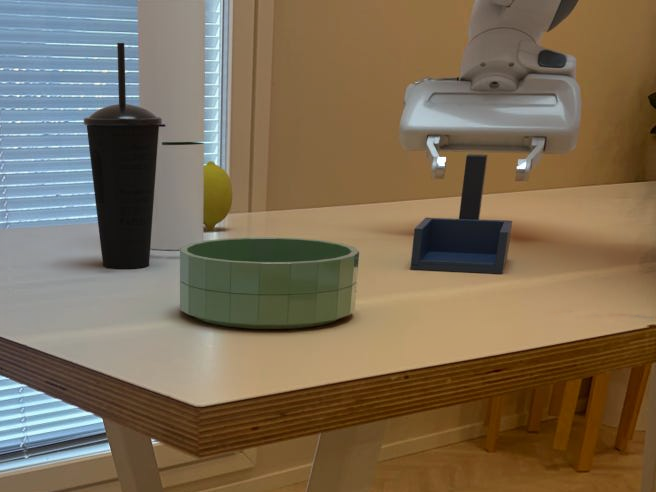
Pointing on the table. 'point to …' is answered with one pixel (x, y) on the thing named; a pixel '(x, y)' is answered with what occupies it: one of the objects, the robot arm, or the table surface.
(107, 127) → the drinking cup
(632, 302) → the table surface
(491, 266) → the scoop
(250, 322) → the bowl
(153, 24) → the cylindrical container
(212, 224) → the lemon
